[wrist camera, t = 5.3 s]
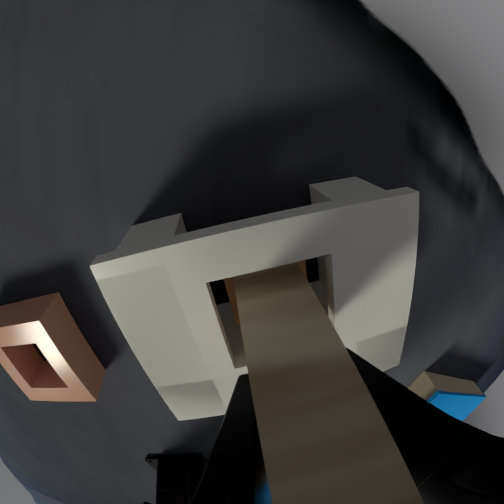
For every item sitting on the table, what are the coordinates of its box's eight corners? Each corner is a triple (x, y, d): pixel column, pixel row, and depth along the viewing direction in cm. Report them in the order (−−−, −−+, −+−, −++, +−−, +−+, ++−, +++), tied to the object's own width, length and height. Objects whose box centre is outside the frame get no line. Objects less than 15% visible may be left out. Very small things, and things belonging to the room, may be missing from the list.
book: (292, 499, 28) (439, 396, 20) (287, 475, 32) (419, 366, 24) (372, 488, 34) (489, 397, 25) (365, 470, 37) (475, 378, 29)
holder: (105, 370, 18) (96, 401, 16) (42, 374, 18) (30, 400, 15) (58, 291, 15) (39, 320, 12) (-3, 306, 15) (-22, 330, 12)
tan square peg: (298, 301, 14) (408, 560, 3) (243, 314, 13) (303, 594, 3) (291, 252, 12) (446, 555, 2) (231, 266, 12) (296, 609, 2)
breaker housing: (359, 307, 18) (398, 364, 13) (182, 350, 18) (178, 420, 13) (354, 165, 14) (419, 191, 9) (128, 215, 14) (89, 266, 9)
